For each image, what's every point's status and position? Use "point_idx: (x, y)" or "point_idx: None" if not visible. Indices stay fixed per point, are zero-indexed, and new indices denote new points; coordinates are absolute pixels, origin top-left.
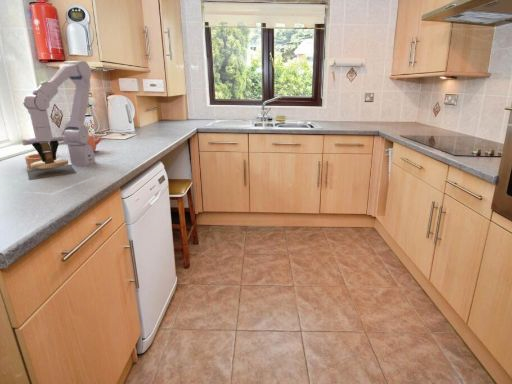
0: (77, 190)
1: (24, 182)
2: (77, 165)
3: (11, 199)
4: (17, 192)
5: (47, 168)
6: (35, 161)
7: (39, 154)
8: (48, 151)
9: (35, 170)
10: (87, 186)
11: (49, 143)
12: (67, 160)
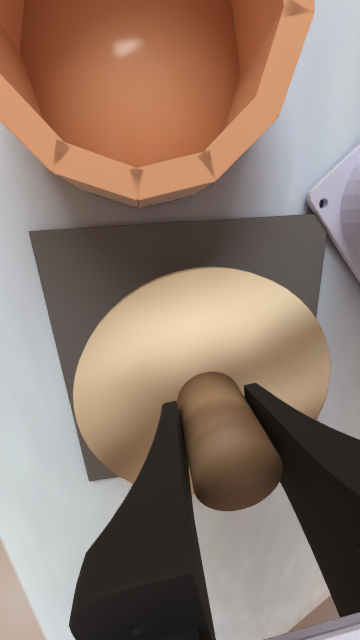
0: (248, 610)
1: (70, 487)
2: (355, 274)
3: (65, 635)
4: (69, 589)
5: (174, 260)
6: (86, 186)
7: (155, 451)
8: (251, 460)
9: (96, 278)
10: (282, 588)
11: (351, 499)
12: (326, 385)
